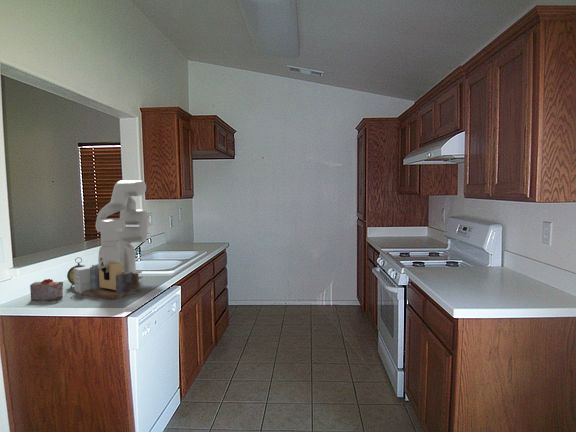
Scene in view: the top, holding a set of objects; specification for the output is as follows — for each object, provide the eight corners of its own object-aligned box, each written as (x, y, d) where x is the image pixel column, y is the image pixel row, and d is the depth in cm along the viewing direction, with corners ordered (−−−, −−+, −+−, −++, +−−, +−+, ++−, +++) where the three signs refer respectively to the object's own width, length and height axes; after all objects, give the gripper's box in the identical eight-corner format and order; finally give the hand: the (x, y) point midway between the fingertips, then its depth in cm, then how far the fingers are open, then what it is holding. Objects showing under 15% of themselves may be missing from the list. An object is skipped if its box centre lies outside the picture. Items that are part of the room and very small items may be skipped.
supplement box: (89, 288, 198) (88, 265, 198) (95, 290, 194) (94, 267, 193) (74, 291, 193) (73, 267, 192) (80, 294, 188) (79, 269, 187)
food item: (66, 296, 184) (65, 277, 184) (57, 301, 176) (56, 281, 176) (38, 296, 183) (37, 277, 183) (28, 301, 176) (26, 281, 175)
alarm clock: (67, 288, 199) (66, 258, 198) (70, 285, 205) (69, 257, 204) (89, 286, 203) (88, 257, 201) (91, 284, 208) (90, 256, 207)
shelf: (109, 287, 201) (108, 261, 200) (138, 291, 192) (138, 264, 191) (82, 294, 187) (81, 266, 186) (113, 299, 178) (112, 270, 177)
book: (106, 285, 194) (105, 261, 193) (122, 287, 189) (121, 263, 188) (99, 287, 190) (98, 262, 189) (116, 289, 185) (115, 264, 184)
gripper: (117, 241, 197) (118, 274, 198) (89, 245, 182) (91, 281, 183) (127, 242, 194) (129, 275, 195) (100, 246, 179) (101, 283, 180)
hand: (110, 278), depth 189 cm, fingers closed on book, 4 cm apart
